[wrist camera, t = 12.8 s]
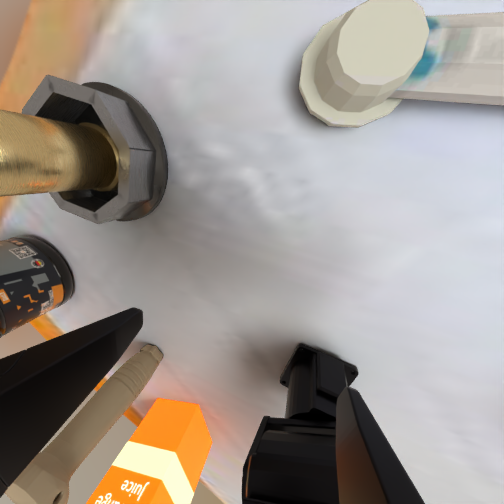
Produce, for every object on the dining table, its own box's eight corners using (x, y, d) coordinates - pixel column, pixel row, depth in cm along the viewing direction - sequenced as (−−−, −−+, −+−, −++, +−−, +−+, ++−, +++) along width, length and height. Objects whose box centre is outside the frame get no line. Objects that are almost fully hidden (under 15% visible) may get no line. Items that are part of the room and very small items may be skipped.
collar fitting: (161, 235, 23) (134, 247, 19) (69, 198, 24) (29, 203, 21) (175, 106, 18) (142, 90, 14) (59, 70, 19) (4, 48, 16)
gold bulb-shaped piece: (140, 185, 20) (2, 197, 11) (97, 193, 22) (-54, 209, 13) (120, 119, 18) (-63, 70, 9) (74, 133, 20) (-119, 103, 11)
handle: (144, 365, 32) (19, 510, 18) (135, 331, 29) (-16, 467, 16) (172, 372, 30) (61, 533, 17) (165, 337, 28) (29, 490, 15)
